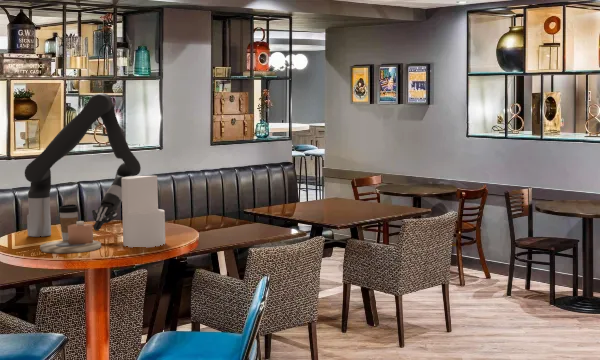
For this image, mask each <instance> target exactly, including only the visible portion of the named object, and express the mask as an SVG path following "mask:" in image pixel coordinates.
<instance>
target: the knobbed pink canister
mask: <svg viewBox="0 0 600 360" xmlns="http://www.w3.org/2000/svg"><path fill="white" fill-rule="evenodd" d="M93 226H94V224H93V223H85V221H84V220H78V221H77V222H76V224H73V225H68V243H69V244H87V243H92V242H93V240H94V228H93Z"/></svg>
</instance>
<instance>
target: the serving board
mask: <svg viewBox="0 0 600 360" xmlns="http://www.w3.org/2000/svg"><path fill="white" fill-rule="evenodd" d="M101 247H102V242H101V241H98V240H94V239H93V242H92V243H87V244H69V243H68V240H55V241H50V242H46V243H42V244H41V245H39V250H41V251H40V252H42V253H47V254H76V253H78V254H79V253H85V252H90V251H95V250H98V249H101Z"/></svg>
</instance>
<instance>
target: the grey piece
mask: <svg viewBox="0 0 600 360" xmlns="http://www.w3.org/2000/svg"><path fill="white" fill-rule="evenodd" d="M121 182H122V201H121V205H122V208H121V211H122V214H121V215H122V241H123V243H122V244H123V247H126V246H128V247H127V248H133V247H146V248H155V246H156V247H161V246H164V245H165V244H166V217H165V216H166V214H165V213H166V211H165V210H164V209H161V208H159V192H158V190H159V188H158V175H136V176H129V177H122V178H121ZM163 244H164V245H163ZM160 245H161V246H160Z"/></svg>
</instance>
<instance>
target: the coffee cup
mask: <svg viewBox="0 0 600 360" xmlns="http://www.w3.org/2000/svg"><path fill="white" fill-rule="evenodd" d="M58 213H59V224H60V231H61V239H62V240H61V241H63V240H68V225H73V224H76V222H77V221H79V216H78V215H79V214H78V213H79V208H78V204H65V205H61V206H59V208H58Z"/></svg>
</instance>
